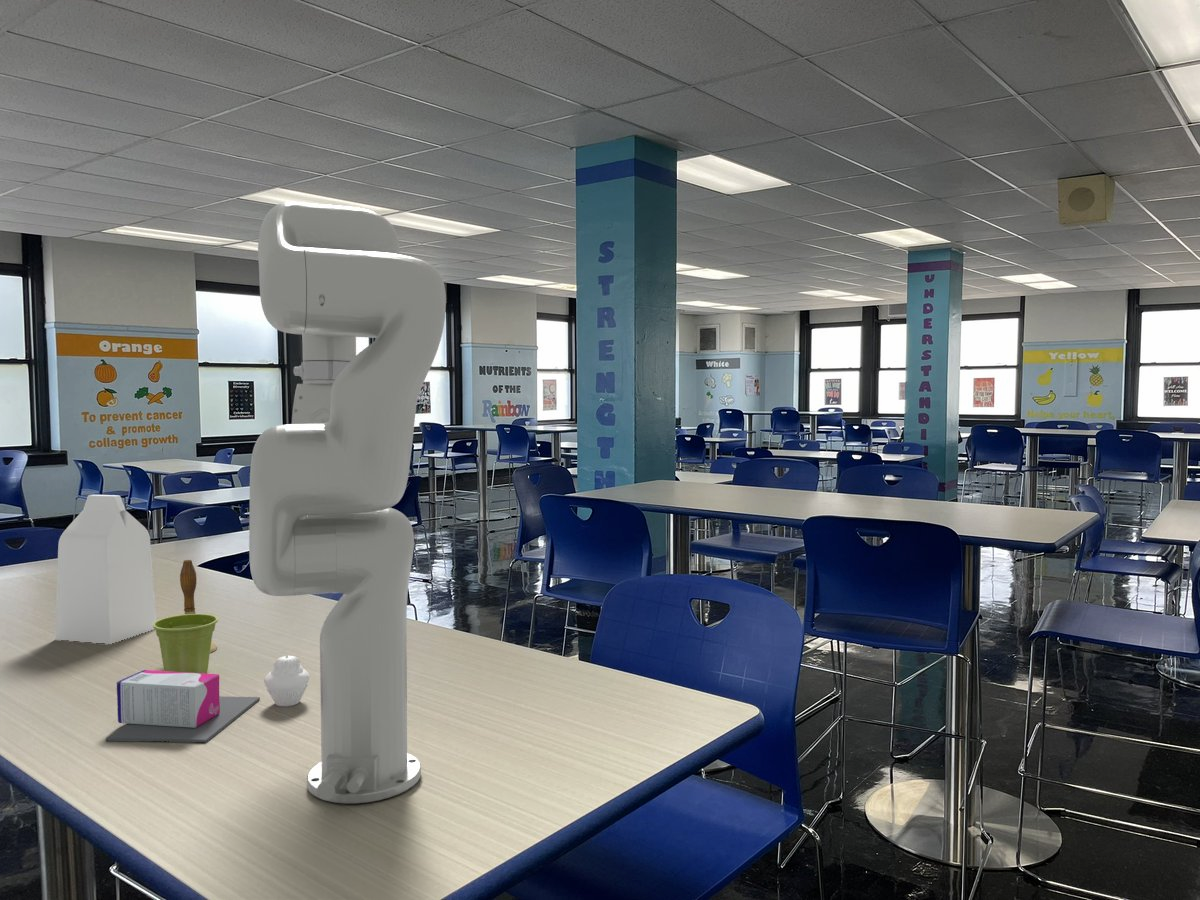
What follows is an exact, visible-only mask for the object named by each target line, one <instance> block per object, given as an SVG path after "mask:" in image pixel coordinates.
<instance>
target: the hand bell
mask: <svg viewBox="0 0 1200 900" xmlns="http://www.w3.org/2000/svg"><path fill="white" fill-rule="evenodd" d="M179 584H180V589H181V591H182V593H183V603H184V604H183V607H184V609H183V611H184V615H185V614H196V608H195V592H196V588H197V572H196V569H195V567H194V564H193V561H192V560H191V559H186V560H185V559H184V560H183V563H182V567H181V570H180V574H179ZM217 649H218V646H217V644H216V643H215V642H214V641H213V640H212V641H211V648H210V654H211V653H213V652H215V651H216V650H217Z"/></svg>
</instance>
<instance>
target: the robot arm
mask: <svg viewBox="0 0 1200 900" xmlns="http://www.w3.org/2000/svg"><path fill="white" fill-rule="evenodd" d="M257 245H258V246H257V257H258V261H257V262H258V277H259V296H260V303H261V308H262V312H263V314H264V316H265V319H266V321H267V322H268V324H270V325H271V326H272V327H273V328H274V329H275V330H278V331H279V332H282V333H286V334H291V335H292V334H293V335H301V336H302V342H301V343H302V344H301V345H302V361H300V362H301V364H300V365H299V366H294V367H293V375H294V376H296V377H297V376H299V377H300V378H301V380H302V383H296V388H295V390H294V391H295V393H294V398H293V405H292V415H291V423H288V424H280V425H274V426H271V427H269V428H268V429H265V430H264V431H262V433H261V434H260V435H259V436H258V438H257V439H256V442H255V443H254V446H253V449H252V453H251V461H250V467H249V468H250V471H249V528H248V529H249V538H248V541H249V542H248V547H249V548H248V550H249V554H248V555H249V557H248V558H249V567H250V574H251V577H252V581H253V584H254V586H255V587H256V588H257V589H258V591H260V592H261V593H262V594H265V595H267V596H272V597H291V596H293V597H294V596H304V595H305V596H307V595H320V594H342V595H341V597H340V598H339V599H338V601H337V602H336V603H335V604H334V606H333V608H332V609H331V610H330V612H329V613H328V614H327V616H326V617H325V619H324V621H323V624H322V627H321V629H320V635H319V666H320V671H319V672H320V675H319V678H320V727H321V728H320V735H321V736H320V739H321V740H320V745H321V746H320V747H321V749H320V750H321V761H319V762H318V763H317V764H316V765H315V766H313V767H312V768H311V769H310V771H309V772H308V773H307V776H306V786H307V790H308V791H309V792H310V794H311V795H312V796H314V797H316V798H318V799H320V800H323V801H325V802H330V803H336V804H367V803H373V802H377V801H382V800H386V799H389V798H392V797H395V796H398V795H400V794H403V793H405V792H407V791H408V790H409V789H411V788H412V787H414V786H415V785H416V784H417V783H418V782H419V780H420V778H421V775H422V765H421V762H420V760H419V759H418V758H417V757H415V756H414V755H413V754H410V753H409V752H408V695H407V694H408V689H407V686H408V683H407V682H408V681H407V680H408V679H407V677H408V676H407V675H408V674H407V672H408V670H407V669H408V667H407V666H408V665H407V664H408V663H407V660H408V659H407V618H408V617H407V616H408V615H407V614H408V613H407V611H408V610H407V609H408V593H409V583H410V578H411V571H412V563H413V557H414V549H415V538H414V537H415V534H414V530H413V526H412V524H411V521H410V520H409V518H408V517H407V516H406V515H405V514H404V513H403V512H401V511H399V510H398V509H395V508H392V507H394V506H395V505H397V504H398V503H399V502H400V501H401V500H402V498H403V496H404V494H405V491H406V490H407V484H408V480H409V475H410V474H409V473H410V466H411V458H412V457H411V456H412V451H413V450H412V448H413V441H414V429H415V422H416V421H415V419H416V411H417V403H418V399H419V397H420V396H419V395H420V392H421V391H422V387H423V385H424V383H425V381H426V378H427V376H428V374H429V372H430V369H431V367H432V365H433V363H434V361H435V358H436V355H437V352H438V351H439V348H440V347H439V346H440V343H441V341H442V336H443V332H444V327H445V320H446V311H447V310H446V308H447V307H446V306H447V302H446V301H447V297H446V296H447V294H446V287H445V283H444V279H443V277H442V274H441V273H440V272H439V270H438V269H437V268H436V267H435V266H433V265H432V264H431V263H430V262H427V261H426V260H423V259H419V258H417V257H413V256H410V255H405V254H400V240H399V236H398V233H397V232H396V229H395V228H394V226H393V225H392V223H391V222H390V221H389V220H387V218H386V217H384V216H383V215H381V214H379V213H377V212H375V211H372V210H369V209H366V208H360V207H353V206H345V205H343V206H342V205H332V204H318V203H310V202H309V203H308V202H307V203H306V202H296V201H285V202H281V203H278V204H276V205H274V206H273V207H272V208H270V209H269V211H267V213H266V215H265V216H264V218H263V220H262V223H261V226H260V229H259V233H258V243H257ZM357 338H370V339H374V338H375V340H374V341H373V342H371V343H370V344H369V345H368V346H366V347H365V348H364V349H362V350H361V351H360V352H358V353H357Z"/></svg>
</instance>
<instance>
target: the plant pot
mask: <svg viewBox="0 0 1200 900" xmlns="http://www.w3.org/2000/svg"><path fill="white" fill-rule="evenodd" d="M218 622H219V617H218V616H216V615H213V614H208V613H195V614H185V613H184V614H178V615H171V616H167V617H163V618H160V619H157V621H155V622H154V623H153V628H154V629H155V634H156V636H157V637H158V641H159V647H160V648H159V649H160V653H161V658H162V664H163V665H162V666H163V671H169V672H186V673H204V674H208V671H209V662H210V655H211V653H210V648H211V641H212V642H213V633H214V631H215V628H216V624H217V623H218Z"/></svg>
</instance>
